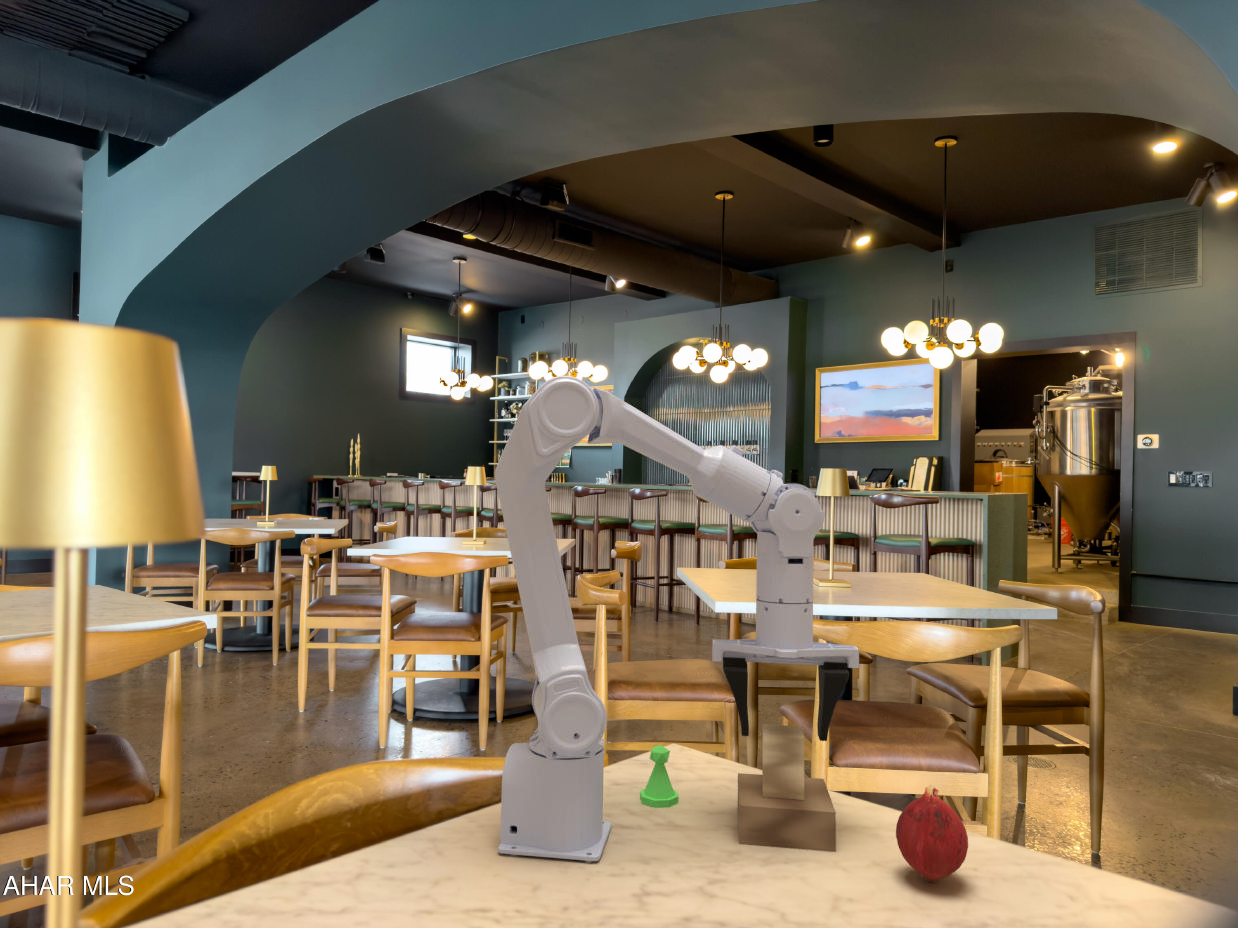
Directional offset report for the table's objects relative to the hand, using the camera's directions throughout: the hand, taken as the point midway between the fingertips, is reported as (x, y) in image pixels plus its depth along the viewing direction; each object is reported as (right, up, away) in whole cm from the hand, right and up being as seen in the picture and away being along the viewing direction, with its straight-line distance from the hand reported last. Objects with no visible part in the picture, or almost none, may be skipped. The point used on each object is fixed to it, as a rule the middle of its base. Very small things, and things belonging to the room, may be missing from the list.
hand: (783, 735), depth 77 cm
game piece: (-12, -10, +6) cm, 17 cm away
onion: (+11, -9, -11) cm, 18 cm away
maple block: (0, -6, 0) cm, 6 cm away
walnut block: (0, -10, -1) cm, 10 cm away
